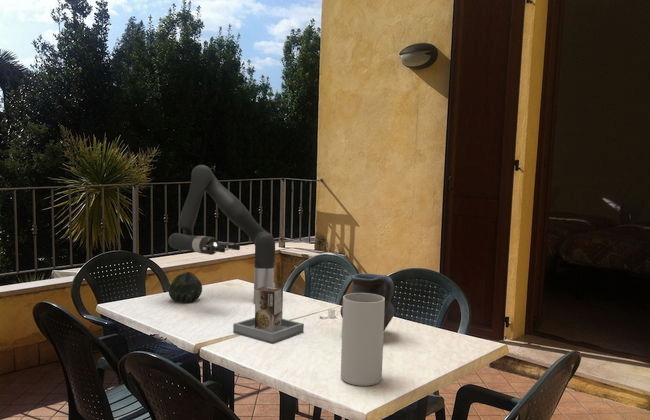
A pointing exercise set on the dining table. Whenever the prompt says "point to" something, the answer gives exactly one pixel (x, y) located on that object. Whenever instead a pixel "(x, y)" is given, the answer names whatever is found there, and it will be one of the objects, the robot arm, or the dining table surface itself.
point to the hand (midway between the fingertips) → (232, 248)
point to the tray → (250, 331)
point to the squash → (185, 288)
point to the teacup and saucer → (330, 314)
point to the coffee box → (268, 309)
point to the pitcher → (375, 291)
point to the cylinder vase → (362, 338)
